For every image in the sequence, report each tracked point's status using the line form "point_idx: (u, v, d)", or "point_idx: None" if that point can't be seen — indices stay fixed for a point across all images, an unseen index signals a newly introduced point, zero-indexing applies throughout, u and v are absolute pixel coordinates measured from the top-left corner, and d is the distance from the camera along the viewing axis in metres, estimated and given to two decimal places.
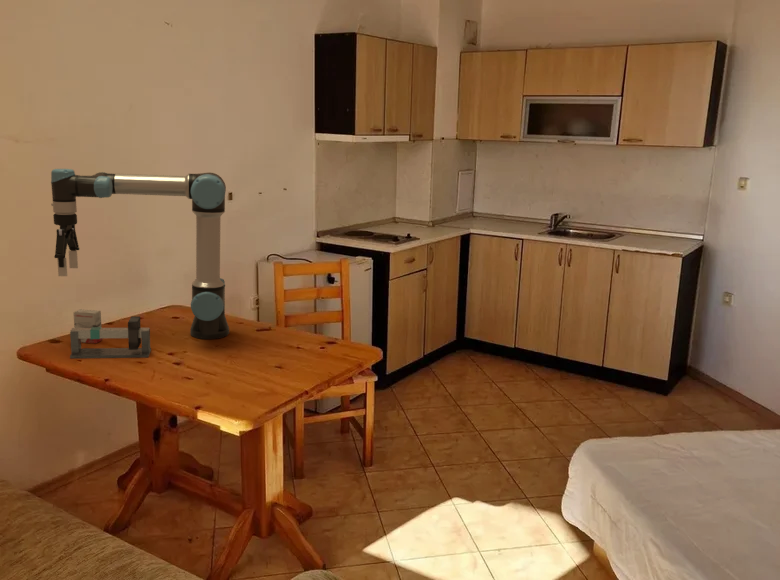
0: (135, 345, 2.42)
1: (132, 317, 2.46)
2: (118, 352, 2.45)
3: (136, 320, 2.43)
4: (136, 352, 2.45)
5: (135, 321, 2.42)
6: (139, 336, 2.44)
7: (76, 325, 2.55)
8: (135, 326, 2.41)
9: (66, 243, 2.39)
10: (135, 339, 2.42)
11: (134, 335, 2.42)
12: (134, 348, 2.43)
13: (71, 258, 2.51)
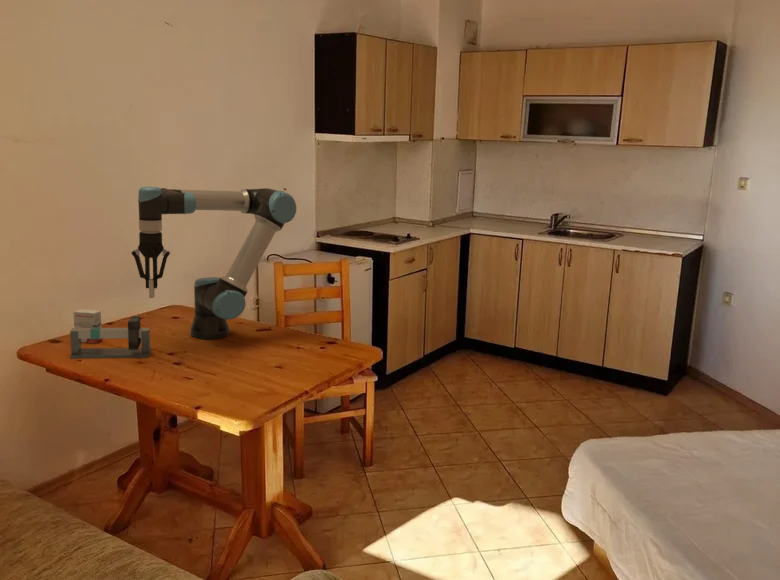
0: (135, 345, 2.42)
1: (132, 317, 2.46)
2: (118, 352, 2.45)
3: (136, 320, 2.43)
4: (136, 352, 2.45)
5: (135, 321, 2.42)
6: (139, 336, 2.44)
7: (76, 325, 2.55)
8: (135, 326, 2.41)
9: (145, 264, 2.39)
10: (135, 339, 2.42)
11: (134, 335, 2.42)
12: (134, 348, 2.43)
13: None
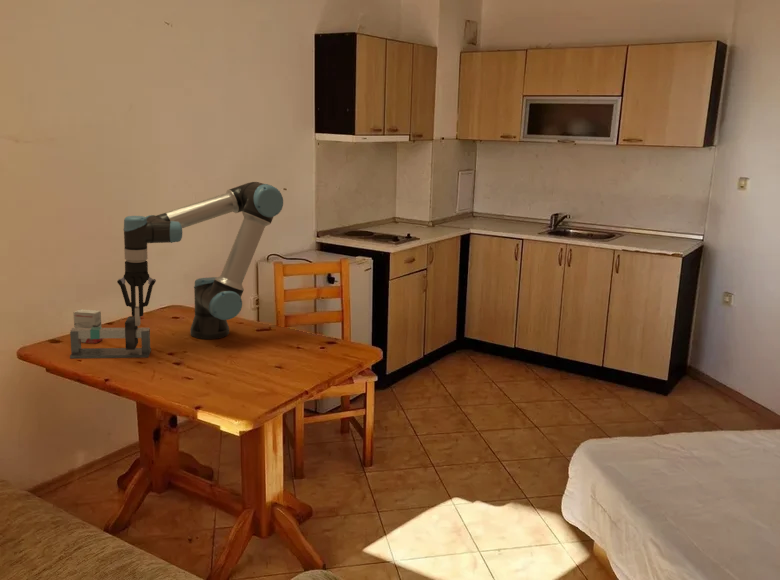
0: (132, 345, 2.42)
1: (129, 317, 2.46)
2: (118, 352, 2.45)
3: (133, 320, 2.43)
4: (136, 352, 2.45)
5: (132, 321, 2.42)
6: (139, 336, 2.44)
7: (76, 325, 2.55)
8: (132, 326, 2.41)
9: (131, 292, 2.40)
10: (132, 339, 2.42)
11: (131, 335, 2.41)
12: (131, 348, 2.42)
13: None
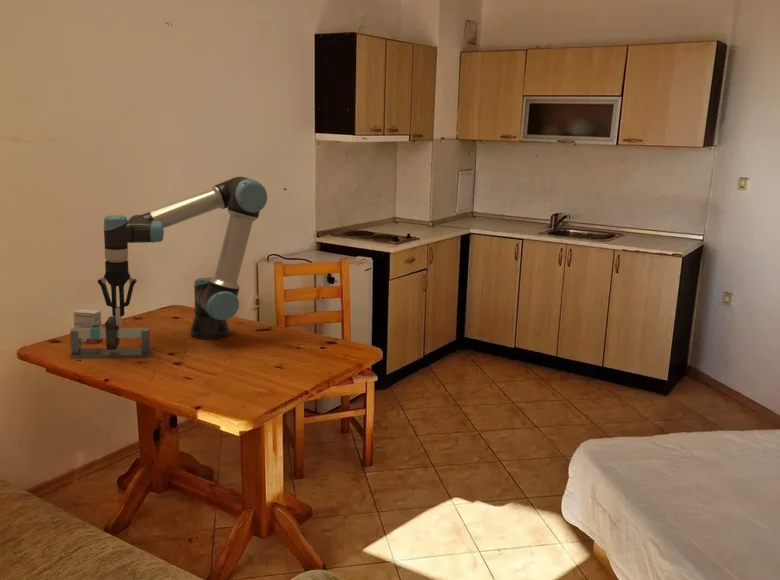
0: (113, 345, 2.41)
1: (110, 317, 2.45)
2: (118, 352, 2.45)
3: (114, 320, 2.42)
4: (136, 352, 2.45)
5: (113, 321, 2.40)
6: (139, 336, 2.44)
7: (76, 325, 2.55)
8: (113, 326, 2.39)
9: (112, 292, 2.39)
10: (113, 339, 2.40)
11: (112, 335, 2.40)
12: (112, 349, 2.41)
13: None
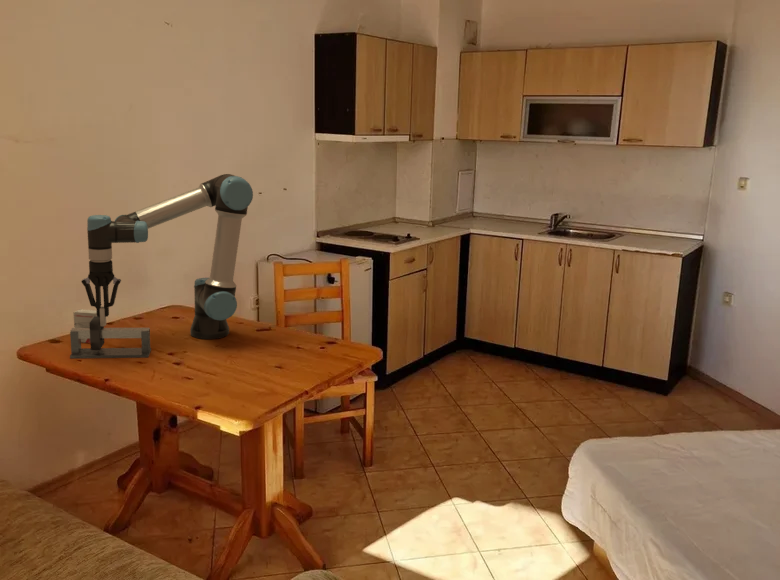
0: (97, 345, 2.40)
1: (95, 317, 2.44)
2: (118, 352, 2.45)
3: (98, 320, 2.41)
4: (136, 352, 2.45)
5: (97, 321, 2.39)
6: (139, 336, 2.44)
7: (76, 325, 2.55)
8: (97, 326, 2.38)
9: (96, 292, 2.38)
10: (97, 339, 2.39)
11: (96, 335, 2.39)
12: (96, 349, 2.40)
13: None
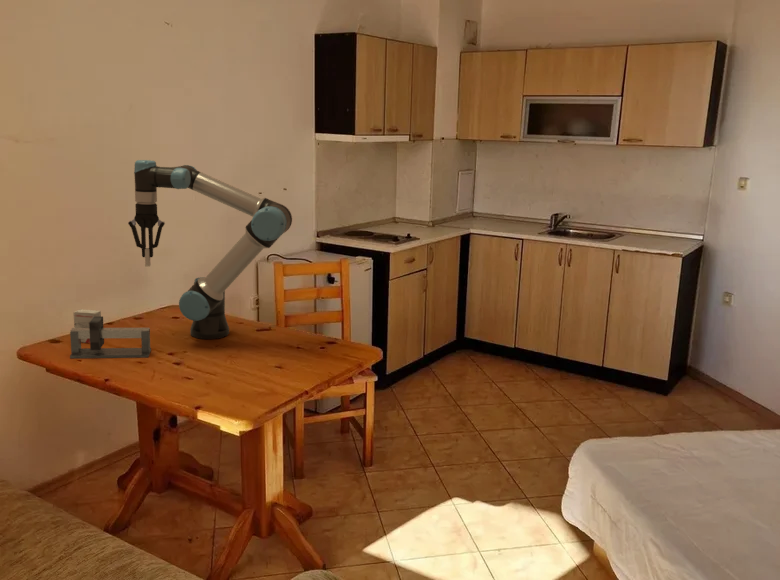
0: (97, 345, 2.40)
1: (94, 317, 2.44)
2: (118, 352, 2.45)
3: (98, 320, 2.41)
4: (136, 352, 2.45)
5: (97, 321, 2.39)
6: (139, 336, 2.44)
7: (76, 325, 2.55)
8: (97, 326, 2.38)
9: (141, 233, 2.52)
10: (97, 339, 2.39)
11: (96, 335, 2.39)
12: (96, 349, 2.40)
13: None
